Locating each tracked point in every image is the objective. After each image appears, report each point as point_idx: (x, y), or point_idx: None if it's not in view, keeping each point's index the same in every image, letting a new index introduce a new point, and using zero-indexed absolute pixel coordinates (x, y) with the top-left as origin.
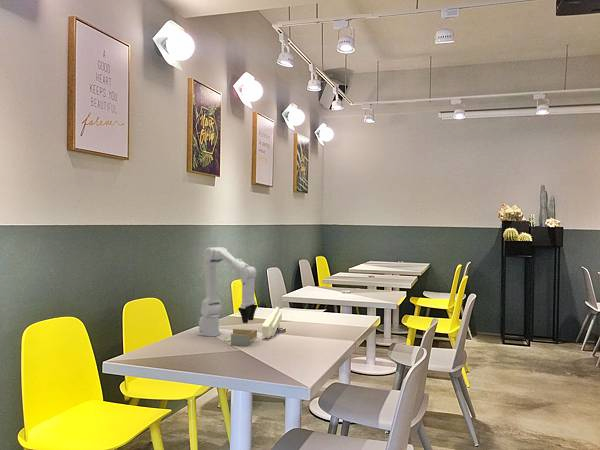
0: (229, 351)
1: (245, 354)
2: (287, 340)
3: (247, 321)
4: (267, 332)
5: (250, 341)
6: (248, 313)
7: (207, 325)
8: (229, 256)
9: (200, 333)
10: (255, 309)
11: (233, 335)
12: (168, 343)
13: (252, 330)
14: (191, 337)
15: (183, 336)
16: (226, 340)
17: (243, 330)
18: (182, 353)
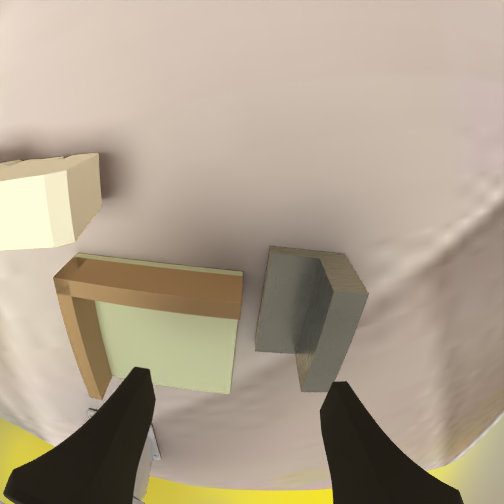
0: (441, 310)
1: (497, 222)
2: (102, 20)
3: (355, 394)
4: (86, 172)
5: (193, 266)
6: (411, 467)
7: (145, 475)
8: None
9: (151, 458)
10: (69, 460)
11: (333, 376)
12: (295, 480)
13: (71, 303)
14: (196, 465)
15: (191, 476)
16: (230, 384)
17: (88, 353)
18: (427, 421)
